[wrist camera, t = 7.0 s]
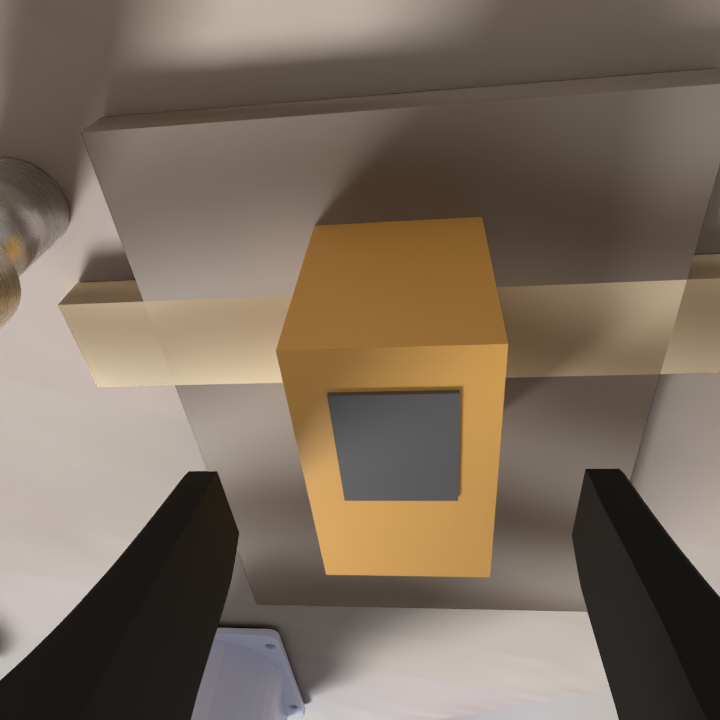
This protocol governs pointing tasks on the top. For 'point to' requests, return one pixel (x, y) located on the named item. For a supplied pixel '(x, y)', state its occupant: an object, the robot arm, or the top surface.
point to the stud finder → (398, 395)
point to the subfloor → (407, 203)
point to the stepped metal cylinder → (25, 225)
